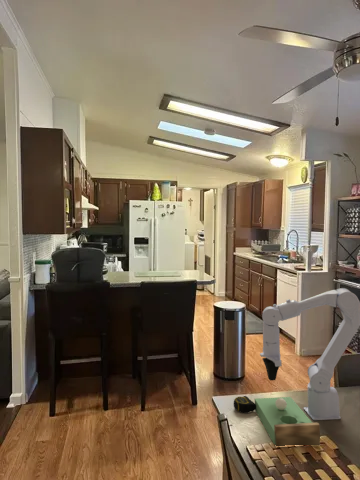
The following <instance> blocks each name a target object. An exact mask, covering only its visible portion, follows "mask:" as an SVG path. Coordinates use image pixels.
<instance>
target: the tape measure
mask: <svg viewBox="0 0 360 480" xmlns="http://www.w3.org/2000/svg"><path fill="white" fill-rule="evenodd" d="M233 408H234V409H235V411H237V412H238V413H240V414H241V413H242V414H249V413H252V412H255V410H256V405H255V401H253V400H251V399H250V398H249V397H248V396H246V395H244V396H237V397H235V398H234V399H233Z"/></svg>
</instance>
